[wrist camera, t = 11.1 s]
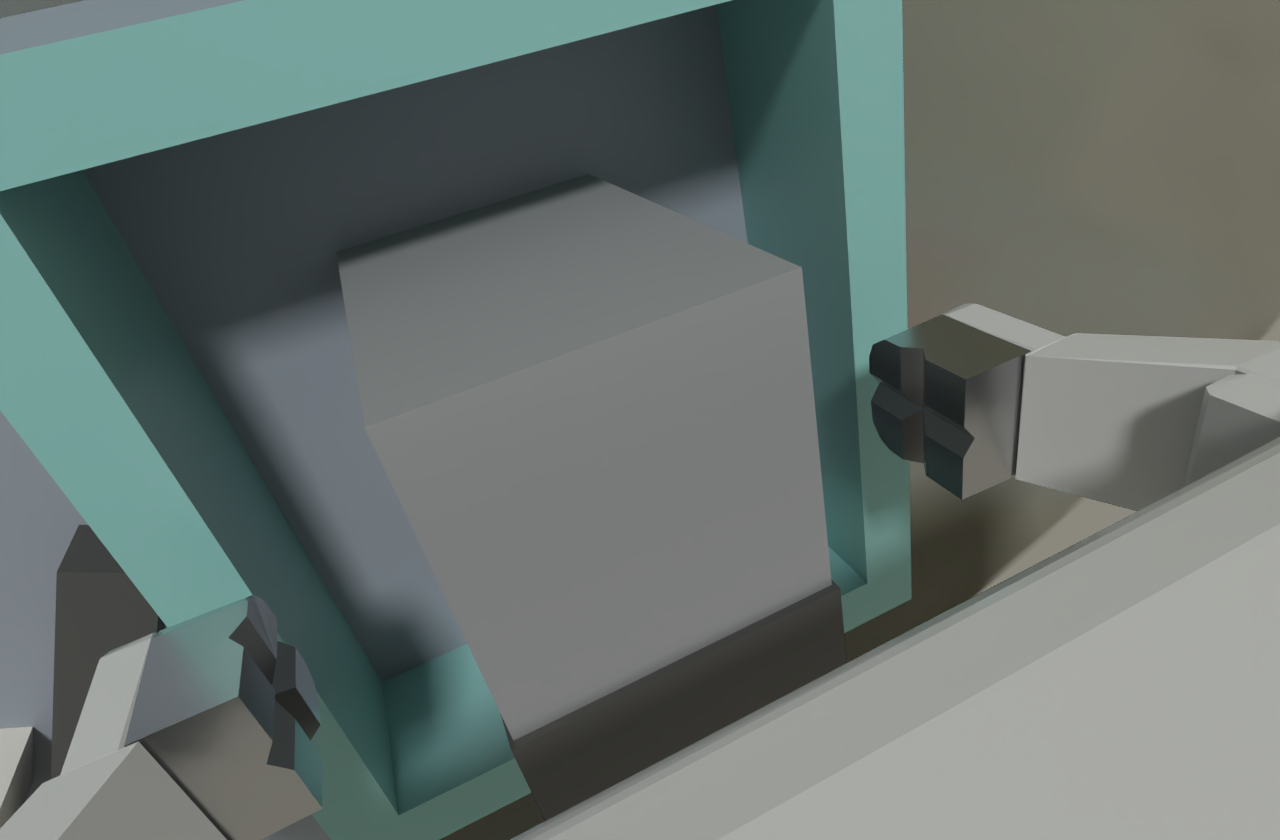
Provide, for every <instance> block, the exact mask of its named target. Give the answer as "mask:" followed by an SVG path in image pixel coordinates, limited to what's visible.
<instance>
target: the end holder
mask: <svg viewBox="0 0 1280 840" xmlns="http://www.w3.org/2000/svg"><path fill="white" fill-rule="evenodd" d="M712 5H716V6H717V13H718V21H719V29H720V36H721V44H722V51H723V59H724V67H725V74H726V82H727V90H728V97H729V105H730V112H731V120H732V128H733V135H734V143H735V150H736V158H737V166H738V173H739V181H740V188H741V196H742V204H743V211H744V219H745V226H746V234H747V242H748V244H750V245H752V246H754V247H757V248H759V249H761V250H763V251H766V252H768V253H770V254H773V255H775V256H777V257H779V258H782V259H784V260H786V261H789V262H791V263H793V264H795V265H798V266H800V267H802V274H803V284H804V295H805V305H806V316H807V327H808V337H809V348H810V359H811V369H812V380H813V390H814V401H815V412H816V422H817V433H818V444H819V454H820V465H821V475H822V486H823V497H824V507H825V518H826V529H827V539H828V550H829V560H830V571H831V579H832V580H833V581H834V582H835V583H836V584H837V585H838V586H839V587H840V589H841V601H842V612H843V624H844V633H846V632H848V631H850V630H852V629H854V628H855V627H857V626H859V625H861V624H863V623H865V622H867V621H869V620H871V619H873V618H875V617H877V616H879V615H881V614H883V613H885V612H887V611H889V610H891V609H893V608H895V607H897V606H899V605H901V604H903V603H905V602H906V601H908V600H910V599H912V591H911V529H910V467H909V460H903V459H901V458H900V457H899V456H897V455H896V454H894V453H893V452H892V451H890V450H889V448H888V447H887V446H886V445H885V444H884V443H883V441H882V440H881V439H880V437H879V434H878V432H877V430H876V428H875V426H874V423H873V419H872V408H871V400H872V398H873V395H874V393H875V391H876V389H877V387H878V385H879V382H878V381H877V380H876V379H875V378H874V377H873V376H872V375H871V374H870V371H869V355H870V352H871V349H872V346H873V344H875V343H877V342H879V341H882V340H884V339H886V338H889V337H891V336H893V335H896V334H898V333H900V332H903V331H905V330H907V281H906V220H905V158H904V96H903V34H902V0H244V1H239V2H235V3H230V4H226V5H221V6H217V7H212V8H208V9H203V10H199V11H194V12H190V13H185V14H181V15H176V16H172V17H167V18H163V19H158V20H154V21H149V22H145V23H140V24H136V25H131V26H127V27H122V28H118V29H113V30H109V31H104V32H100V33H95V34H91V35H86V36H82V37H77V38H73V39H68V40H64V41H59V42H55V43H50V44H46V45H41V46H37V47H32V48H27V49H23V50H18V51H14V52H9V53H5V54H0V411H1V412H2V413H3V415H4V416H5V417H6V419H7V420H8V421H9V423H10V424H11V425H12V426H13V428H14V429H15V430H16V432H17V433H18V434H19V435H20V437H21V438H22V439H23V441H24V442H25V443H26V445H27V446H28V447H29V448H30V450H31V451H32V452H33V454H34V455H35V456H36V458H37V459H38V460H39V461H40V463H41V464H42V465H43V467H44V468H45V469H46V471H47V472H48V473H49V474H50V476H51V477H52V478H53V480H54V481H55V482H56V484H57V485H58V486H59V487H60V489H61V490H62V491H63V493H64V494H65V495H66V496H67V498H68V499H69V500H70V502H71V503H72V504H73V506H74V507H75V508H76V509H77V511H78V512H79V513H80V515H81V516H82V517H83V519H84V520H85V521H86V522H87V524H88V525H89V526H90V528H91V529H92V530H93V532H94V533H95V534H96V535H97V537H98V538H99V539H100V541H101V542H102V543H103V545H104V546H105V547H106V548H107V550H108V551H109V552H110V554H111V555H112V556H113V558H114V559H115V560H116V561H117V563H118V564H119V565H120V567H121V568H122V569H123V570H124V572H125V573H126V574H127V576H128V577H129V578H130V580H131V581H132V582H133V583H134V585H135V586H136V587H137V589H138V590H139V591H140V593H141V594H142V595H143V596H144V598H145V599H146V600H147V602H148V603H149V604H150V606H151V607H152V608H153V609H154V611H155V612H156V613H157V615H158V616H159V617H160V619H161V620H162V621H163V622H164V624H165V625H166V626H167V628H168V627H171V626H173V625H176V624H178V623H181V622H184V621H186V620H189V619H191V618H194V617H197V616H199V615H202V614H204V613H207V612H210V611H212V610H215V609H217V608H220V607H223V606H225V605H228V604H230V603H233V602H236V601H238V600H241V599H243V598H246V597H249V596H251V595H256V596H258V597H260V598H262V599H263V600H264V601H265V603H266V604H267V605H268V607H269V608H270V610H271V611H272V612H273V614H274V615H275V617H276V618H277V619H278V627H277V641H279V642H282V643H285V644H288V645H291V646H294V647H296V649H297V650H298V652H299V653H300V655H301V656H302V658H303V660H304V661H305V663H306V665H307V667H308V670H309V672H310V674H311V676H312V678H313V681H314V685H315V688H316V692H317V696H318V700H319V704H320V723H321V725H320V727H319V728H318V730H317V731H316V733H315V735H314V736H313V738H312V740H311V742H312V744H313V745H314V747H315V748H316V750H317V751H318V752H319V754H320V755H321V757H322V805H323V808H322V809H320V810H318V811H316V812H314V813H313V814H311V815H312V816H313V817H314V818H315V820H316V821H317V822H318V824H319V825H320V826H321V828H322V829H323V830H324V831H325V833H326V834H327V835H328V837H329V838H330V839H331V840H440V839H442V838H444V837H446V836H448V835H449V834H451V833H453V832H455V831H457V830H459V829H461V828H463V827H465V826H467V825H469V824H471V823H473V822H475V821H477V820H479V819H481V818H483V817H485V816H487V815H489V814H491V813H493V812H495V811H497V810H499V809H500V808H502V807H504V806H506V805H508V804H510V803H512V802H514V801H516V800H518V799H520V798H522V797H524V796H526V795H528V794H530V793H532V792H531V790H530V788H529V786H528V784H527V782H526V780H525V778H524V776H523V774H522V772H521V770H520V768H519V766H518V763H517V761H516V759H515V757H514V755H513V753H512V751H511V748H510V745H509V741H508V738H507V735H506V731H505V728H504V724H503V721H502V718H501V714H500V711H499V709H498V707H497V705H496V703H495V701H494V699H493V697H492V695H491V693H490V690H489V688H488V686H487V684H486V682H485V680H484V678H483V676H482V674H481V671H480V669H479V667H478V665H477V663H476V661H475V659H474V657H473V655H472V653H471V650H470V648H469V646H468V644H465V645H463V646H461V647H459V648H456V649H454V650H452V651H450V652H447V653H445V654H443V655H441V656H439V657H436V658H434V659H432V660H430V661H427V662H425V663H423V664H421V665H419V666H416V667H414V668H412V669H410V670H407V671H405V672H403V673H401V674H399V675H396V676H394V677H392V678H390V679H387V680H385V681H383V682H382V681H381V679H380V678H379V676H378V674H377V672H376V671H375V669H374V667H373V666H372V664H371V662H370V660H369V659H368V657H367V655H366V654H365V652H364V650H363V648H362V647H361V645H360V643H359V642H358V640H357V638H356V636H355V635H354V633H353V631H352V630H351V628H350V626H349V625H348V623H347V621H346V619H345V618H344V616H343V614H342V613H341V611H340V609H339V607H338V606H337V604H336V602H335V601H334V599H333V597H332V595H331V594H330V592H329V590H328V589H327V587H326V585H325V584H324V582H323V580H322V578H321V577H320V575H319V573H318V572H317V570H316V568H315V566H314V565H313V563H312V561H311V560H310V558H309V556H308V554H307V553H306V551H305V549H304V548H303V546H302V544H301V543H300V541H299V539H298V537H297V536H296V534H295V532H294V531H293V529H292V527H291V525H290V524H289V522H288V520H287V519H286V517H285V515H284V513H283V512H282V510H281V508H280V507H279V505H278V503H277V502H276V500H275V498H274V496H273V495H272V493H271V491H270V490H269V488H268V486H267V484H266V483H265V481H264V479H263V478H262V476H261V474H260V472H259V471H258V469H257V467H256V466H255V464H254V462H253V460H252V459H251V457H250V455H249V454H248V452H247V450H246V449H245V447H244V445H243V443H242V442H241V440H240V438H239V437H238V435H237V433H236V431H235V430H234V428H233V426H232V425H231V423H230V421H229V419H228V418H227V416H226V414H225V413H224V411H223V409H222V408H221V406H220V404H219V402H218V401H217V399H216V397H215V396H214V394H213V392H212V390H211V389H210V387H209V385H208V384H207V382H206V380H205V378H204V377H203V375H202V373H201V372H200V370H199V368H198V367H197V365H196V363H195V361H194V360H193V358H192V356H191V355H190V353H189V351H188V349H187V348H186V346H185V344H184V343H183V341H182V339H181V337H180V336H179V334H178V332H177V331H176V329H175V327H174V325H173V324H172V322H171V320H170V319H169V317H168V315H167V314H166V312H165V310H164V308H163V307H162V305H161V303H160V302H159V300H158V298H157V296H156V295H155V293H154V291H153V290H152V288H151V286H150V284H149V283H148V281H147V279H146V278H145V276H144V274H143V273H142V271H141V269H140V267H139V266H138V264H137V262H136V261H135V259H134V257H133V255H132V254H131V252H130V250H129V249H128V247H127V245H126V243H125V242H124V240H123V238H122V237H121V235H120V233H119V232H118V230H117V228H116V226H115V225H114V223H113V221H112V220H111V218H110V216H109V214H108V213H107V211H106V209H105V208H104V206H103V204H102V202H101V201H100V199H99V197H98V196H97V194H96V192H95V191H94V189H93V187H92V185H91V184H90V182H89V180H88V179H87V177H86V175H85V173H84V172H83V170H84V169H88V168H91V167H95V166H99V165H103V164H107V163H111V162H114V161H118V160H122V159H126V158H130V157H134V156H137V155H141V154H145V153H149V152H153V151H157V150H160V149H164V148H168V147H172V146H176V145H179V144H183V143H187V142H191V141H195V140H199V139H202V138H206V137H210V136H214V135H218V134H222V133H225V132H229V131H233V130H237V129H241V128H245V127H248V126H252V125H256V124H260V123H264V122H268V121H271V120H275V119H279V118H283V117H287V116H291V115H294V114H298V113H302V112H306V111H310V110H314V109H317V108H321V107H325V106H329V105H333V104H337V103H340V102H344V101H348V100H352V99H356V98H360V97H363V96H367V95H371V94H375V93H379V92H383V91H386V90H390V89H394V88H398V87H402V86H406V85H409V84H413V83H417V82H421V81H425V80H429V79H432V78H436V77H440V76H444V75H448V74H452V73H455V72H459V71H463V70H467V69H471V68H475V67H478V66H482V65H486V64H490V63H494V62H498V61H501V60H505V59H509V58H513V57H517V56H521V55H524V54H528V53H532V52H536V51H540V50H544V49H547V48H551V47H555V46H559V45H563V44H567V43H570V42H574V41H578V40H582V39H586V38H589V37H593V36H597V35H601V34H605V33H609V32H612V31H616V30H620V29H624V28H628V27H632V26H635V25H639V24H643V23H647V22H651V21H655V20H658V19H662V18H666V17H670V16H674V15H678V14H681V13H685V12H689V11H693V10H697V9H701V8H704V7H708V6H712Z"/></svg>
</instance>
